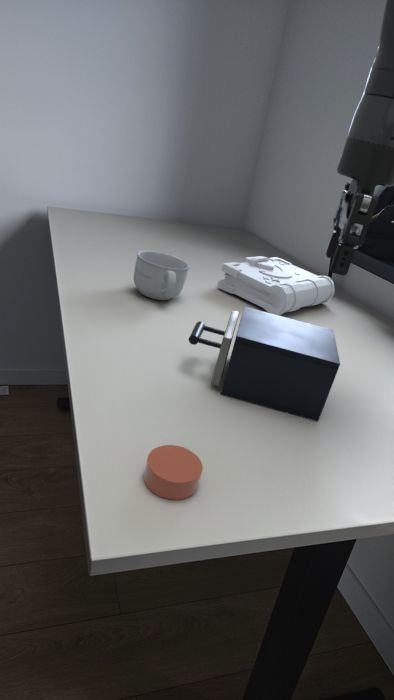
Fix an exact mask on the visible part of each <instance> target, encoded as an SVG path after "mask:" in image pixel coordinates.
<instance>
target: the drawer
mask: <svg viewBox="0 0 394 700" xmlns="http://www.w3.org/2000/svg"><path fill="white" fill-rule="evenodd" d="M239 315H240V311H238V310H237V311H236V310H233V309H232V310H231V313H230V316H229V319H228V322H227V324H226V328H225V330H222V329H218V328H215V327H211V326H208V325H206V324H205V323H204V322H203V321H197V322H196V323H195V325H194V327H193V329H192V331H191V333H190V335H189V337H188V343H189V344H191V345H193V346H196V345H197V344H201V345H202V344H203V345H205V346H210V347H212V348H217V349H219V351H218V356H217V359H216V364H215V367H214V371H213V375H212V379H211V385H214V386H217V387H220V384H221V381H222V377H223V374H224V370H225V366H226V363H227V360H228V356H229V353H230V349H231V345H232V341H233V339H234V338H233V337H234V334H235V330H236V327H237V323H238V319H239ZM204 332H208V333H211V334H216V335H220V336H223V337H222V339H221V340H222V341H221V343H220V342H217V341H213V340H209V339H206V338H203V337H202V335H203V333H204Z"/></svg>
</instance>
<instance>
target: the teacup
mask: <svg viewBox="0 0 394 700" xmlns="http://www.w3.org/2000/svg"><path fill="white" fill-rule="evenodd" d="M190 266H191V265H190V264H189V263H188V262H187V261H186V260H184V259H182V258H180V257H178V256H176V255H172V254H170V253H165V252H162V251H157V250H139V251H138V252H137V253H136V261H135V265H134V270H133V283H134V285H135V287H136V288H137V289H138V291H139V292H140V293H141V295H143V296H145V297H147V298H150V299H153V300H159V301H168V300H172V299H173V298H175V297H177V296H179V295H180V294H181V292H182V291H183V289H184V285H185V282H186V280H187V276H188V272H189V269H190Z"/></svg>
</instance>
